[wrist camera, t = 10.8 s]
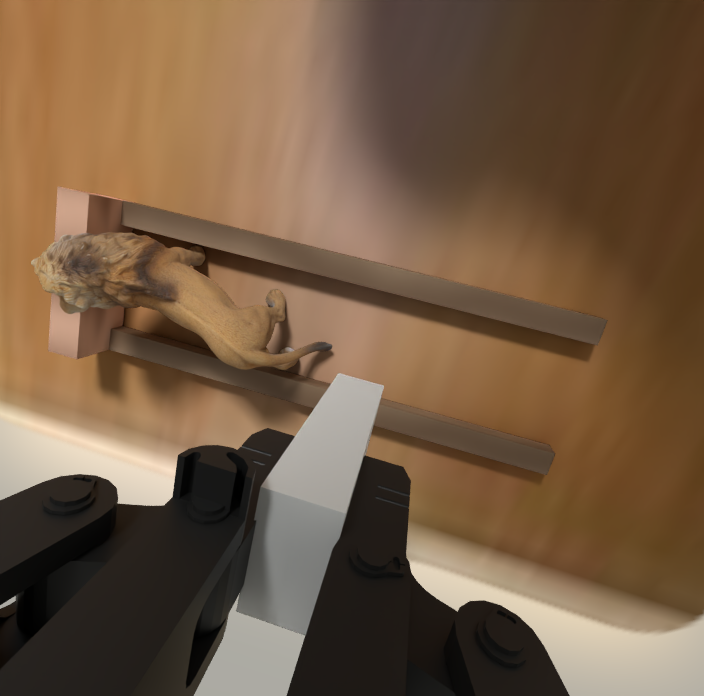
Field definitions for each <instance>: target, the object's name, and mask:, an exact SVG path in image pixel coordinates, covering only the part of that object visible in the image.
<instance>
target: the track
mask: <svg viewBox="0 0 704 696" xmlns="http://www.w3.org/2000/svg"><path fill="white" fill-rule="evenodd" d="M133 228H136V229H140V230H144V231H148V232H152V233H156V234H160V235H164V236H167V237H171V238H175V239H179V240H183V241H187V242H191V243H195V244H199V245H203V246H207V247H211V248H215V249H219V250H223V251H227V252H231V253H235V254H239V255H243V256H246V257H250V258H254V259H258V260H262V261H266V262H270V263H274V264H278V265H282V266H286V267H290V268H294V269H298V270H302V271H306V272H310V273H314V274H318V275H321V276H325V277H329V278H333V279H337V280H341V281H345V282H349V283H353V284H357V285H361V286H365V287H369V288H373V289H377V290H381V291H385V292H389V293H393V294H397V295H400V296H404V297H408V298H412V299H416V300H420V301H424V302H428V303H432V304H436V305H440V306H444V307H448V308H452V309H456V310H460V311H464V312H468V313H472V314H475V315H479V316H483V317H487V318H491V319H495V320H499V321H503V322H507V323H511V324H515V325H519V326H523V327H527V328H531V329H535V330H539V331H543V332H547V333H551V334H554V335H558V336H562V337H566V338H570V339H574V340H578V341H582V342H586V343H590V344H594V345H598V343H599V341H600V338H601V336H602V333H603V331H604V328H605V326H606V323H607V321H608V320H605V319H603V318H600V317H596V316H592V315H588V314H584V313H580V312H576V311H572V310H567V309H563V308H559V307H555V306H551V305H547V304H543V303H539V302H535V301H531V300H527V299H523V298H519V297H515V296H511V295H507V294H503V293H499V292H495V291H490V290H486V289H482V288H478V287H474V286H470V285H466V284H462V283H458V282H454V281H450V280H446V279H442V278H438V277H434V276H430V275H426V274H422V273H418V272H413V271H409V270H405V269H401V268H397V267H393V266H389V265H385V264H381V263H377V262H373V261H369V260H365V259H361V258H357V257H353V256H349V255H345V254H340V253H336V252H332V251H328V250H324V249H320V248H316V247H312V246H308V245H304V244H300V243H296V242H292V241H288V240H284V239H280V238H276V237H272V236H268V235H263V234H259V233H255V232H251V231H247V230H243V229H239V228H235V227H231V226H227V225H223V224H219V223H215V222H211V221H207V220H203V219H199V218H195V217H191V216H186V215H182V214H178V213H174V212H170V211H166V210H162V209H158V208H154V207H150V206H146V205H142V204H138V203H134V202H130V201H126V200H122V199H118V198H114V197H109V196H105V195H100V194H94V193H89V192H84V191H79V190H73V189H68V188H63V187H58V191H57V209H56V226H55V242H58V241H59V239H60V238H61V237H62V236H63V235H78V234H82V233H89V234H93V235H98V234H102V233H108V232H113V233H132V230H133ZM59 302H60V299H59V296H57V295H55V294H54V293H52V296H51V314H50V331H49V349H48V351H50V352H54V353H57V354H60V355H64V356H67V357H71V358H74V359H79V358H83V357H86V356H89V355H93V354H96V353H99V352H103V351H106V350H112V351H115V352H119V353H122V354H126V355H129V356H133V357H136V358H140V359H143V360H147V361H150V362H154V363H157V364H161V365H164V366H168V367H171V368H175V369H178V370H182V371H185V372H189V373H192V374H196V375H199V376H203V377H206V378H210V379H213V380H217V381H220V382H224V383H227V384H231V385H234V386H238V387H241V388H244V389H248V390H251V391H255V392H258V393H262V394H265V395H269V396H272V397H276V398H279V399H283V400H286V401H290V402H293V403H297V404H300V405H304V406H307V407H311V408H315V407H316V405H317V404H318V402H319V401H320V399H321V398H322V396H323V395H324V394H325V392H326V391H327V389H328V388H329V386H330V385H331V384H328V383H325V382H321V381H318V380H314V379H311V378H307V377H303V376H300V375H296V374H293V373H289V372H285V371H282V370H278V369H275V368H271V367H268V366H262V367H255V368H252V369H247V370H245V369H238V368H236V367H233V366H231V365H228V364H226V363H224V362H222V361H221V360H220V359H219V358H218V357H217V356H216V355H215V354H214V353H213V351H210V350H207V349H203V348H200V347H196V346H192V345H189V344H185V343H182V342H178V341H174V340H171V339H167V338H164V337H160V336H157V335H153V334H149V333H146V332H142V331H139V330H135V329H131V328H128V327H124V326H123V319H124V309H125V307H122V306H115V307H113V308H110V309H102V308H99V307H89V308H88V309H87V310H86V311H84V312H80V313H73V314H67V313H65V312H64V311H63V310H62V309H61V307H60V305H59ZM374 426H377V427H381V428H384V429H388V430H391V431H395V432H398V433H402V434H405V435H409V436H412V437H416V438H419V439H423V440H426V441H430V442H433V443H437V444H440V445H444V446H447V447H451V448H454V449H458V450H461V451H465V452H468V453H472V454H475V455H479V456H482V457H486V458H489V459H493V460H496V461H500V462H503V463H506V464H510V465H513V466H517V467H520V468H524V469H527V470H531V471H534V472H538V473H541V474H545V475H547V473H548V471H549V468H550V466H551V463H552V461H553V458H554V456H555V453H554V451H553V450H552V448H551V447H550V445H547V444H543V443H540V442H536V441H533V440H529V439H525V438H522V437H518V436H515V435H511V434H508V433H504V432H500V431H497V430H493V429H490V428H486V427H483V426H479V425H475V424H472V423H468V422H465V421H461V420H457V419H454V418H450V417H447V416H443V415H440V414H436V413H432V412H429V411H425V410H422V409H418V408H414V407H411V406H407V405H404V404H400V403H397V402H393V401H389V400H386V399H382V398H381V400H380V403H379V407H378V411H377V414H376V418H375V422H374Z"/></svg>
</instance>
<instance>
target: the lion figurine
mask: <svg viewBox="0 0 704 696" xmlns="http://www.w3.org/2000/svg"><path fill="white" fill-rule="evenodd" d="M204 260H205V252H204V250H203V248H202V247H200V246H198V245H196V246H192V247H191V248H189V249H188V250H186V249H184V248H180V247H172V248H166V247H165V246H164V245H163V244H161V243H159V242H158V241H157V240H154V239H152V238H150V237H149V236H147V235H142V236H138V235H136V234H134V233H113V232H108V233H102V234H98V235H93V234H89V233H82V234H78V235H63V236H62V237H61V238H60V239H59V241H58V242H54V243H52V244H51V245H49V247H48V248H47V249H46V250H45V251H44V252H43V253H42V255H41V256H40V257H38V258H35V259H34V260H32V262H31V264H32V265H33V266H34V267H35V274H36V275H38V276H39V280H40V283H41V285H42V288H43V289H44V290H45V291H47V292H49V293H54V294H55V295H57V296H59V299H60V302H59V305H60V307H61V309H62V310H63V311H64V312H65V313H67V314H73V313H80V312H84V311H86V310H87V309H88V308H89V307H99V308H102V309H110V308H113V307H115V306H122V307H125V308H136V307H140V306H142V307H146V308H150V309H153V310H158V311H159V312H161V313H162V314H164V315H165V316H166V317H168V318H169V319H170V320H172V321H174V322H175V323H177V324H179V325H181V326H182V327H184V328H186V329H189V330H191V331H193V332H195V333H196V334H198V335H199V336H201V337H202V338H203V339H204V341H205V342H206V343H207V344H208V346H209V347H210V349H211V350H212V351H213V353H214V354H215V355H216V356H217V357H218V358H219V359H220V360H221V361H222V362H224V363H226V364H228V365H231V366H233V367H236V368H238V369H245V370H247V369H252V368H255V367H262V366H273V367H276V368H278V369H280V370H286V369H288V368H290V367H292V366H294V365H295V364H296V363H297V361H298V359H299V358H300V357H302V356H305V355H307V354H309V353H312V352H315V351H328V350H331V349H332V345H331V344H328V343H326V342H316V343H313V344H310V345H307V346H305V347H303V348H300V349H298V350H294V349H292V348H289V347H286V348H284V349H282V350H281V351H280V354H271V353H269V351H268V349H267V348H266V346H267V344H268V343H269V341H270V339H271V337H272V334H273V330H274V327H275V324H276V323H277V322H283V321H284V320H285V297H284V295H283V293H282V292H281V291H279V290H271V291H270V292H269V293H268V295H267V297H266V302H267V303H268V305H270V306H271V307H267V306H261V305H254V306H252V307H248V308H243V309H240V308H238V307H237V306H236V305H235V304H234V302H233V301H232V300H231V298H230V297H229V296H228V295H227V293H226V292H225V291H224V290H223V289H222V288H221V287H220V286H219V285H218V284H216V283H215V282H214V281H212V280H211V279H210V278H208V277H206V276H205V275H203V274H201V273H199V272H198V271H196V270H194V269H192V268H191V267H190V265H192V266H193V265H195V266H199V265H202V264H203V262H204Z"/></svg>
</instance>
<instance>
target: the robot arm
mask: <svg viewBox="0 0 704 696" xmlns="http://www.w3.org/2000/svg"><path fill="white" fill-rule="evenodd" d="M383 388H384V386H383V385H380V384H376V383H372V382H369V381H365V380H362V379H358V378H354V377H351V376H347V375H344V374H340V373H338V375H337V376H336V378H335V379H334V380H333V382H332V383H331V385H330V386H329V388H328V389H327V391H326V392H325V394H324V395H323V396H322V398H321V399H320V401H319V402H318V404H317V405H316V407H315V408H314V410H313V411H312V413H311V414H310V415H309V417H308V418H307V420H306V421H305V423H304V424H303V426H302V427H301V429H300V430H299V431H298V433H297V434H296V436H292V435H289V434H286V433H282V432H279V431H276V430H272V429H269V428H267V429H264V430H262V431H259V432H257V433H255V434H252V435H251V436H250V437H249V438H248V439H247V440H246V441H245V443H244V444H243V445H242V447H240V448H239V449H238V450H236V449H234V448H230V447H225V446H219V445H206V446H199V447H195V448H191V449H188V450H186V451H185V452H183V453H181V454H179V455H178V460H177V468H176V475H175V483H174V491H173V497H172V498H171V499H170V500H169V501H168V502H167V503H166V504H165V505H164V506H142V505H129V504H117V502H118V495H117V488H116V487H115V486H114V485H113V484H112V483H111V482H110V481H109V480H106V479H103V478H101V477H98V476H93V475H82V474H78V475H69V476H61V477H58V478H54V479H51V480H48V481H45V482H42V483H40V484H37V485H35V486H33V487H30V488H28V489H26V490H24V491H21V492H19V493H17V494H14V495H12V496H10V497H7V498H5V499H3V500H0V605H1V604H3V603H4V602H6V601H8V600H9V599H11V598H12V597H14V596H16V601H15V602H13V603H12V604H10V605H8V606H6V607H4V608H1V609H0V696H194V694H195V692H196V690H197V688H198V686H199V684H200V682H201V680H202V678H203V676H204V674H205V672H206V670H207V668H208V666H209V664H210V662H211V661H212V658H213V657H214V655H215V653H216V651H217V649H218V647H219V645H220V643H221V641H222V639H223V636H224V632H225V629H226V625H227V619H228V614H229V612H230V610H231V608H232V606H233V604H234V602H235V601H236V599H237V597H238V595H239V593H240V595H239V600H238V606H237V610H236V611H237V612H239V613H243V614H245V615H248V616H251V617H254V618H257V619H259V620H262V621H266V622H268V623H271V624H274V625H277V626H279V627H282V628H285V629H288V630H291V631H294V632H296V633H299V634H303V635H305V639H304V642H303V645H302V648H301V651H300V655H299V658H298V661H297V664H296V667H295V671H294V674H293V677H292V680H291V683H290V687H289V690H288V693H287V696H569V694H568V692H567V690H566V688H565V686H564V684H563V682H562V680H561V678H560V676H559V675H558V672H557V671H556V669H555V667H554V665H553V663H552V661H551V659H550V657H549V655H548V653H547V651H546V649H545V647H544V645H543V644H542V643H541V641H540V640H539V638H538V637H537V635H536V634H535V632H534V631H533V630H532V629H531V628H530V627H529V626H528V625H527V624H526V623H525V622H524V621H523V620H522V619H521V618H520V617H518V616H517V615H516V614H514V613H512V612H511V611H509V610H507V609H506V608H504V607H502V606H501V605H497V604H494V603H491V602H487V601H470V602H468V603H466V604H465V605H463V606H461V607H460V608H459V610H458V612H457V611H455V610H454V609H452V608H451V607H449V606H448V605H446V604H444V603H443V602H441V601H439V600H438V599H436V598H435V597H434V596H432V595H431V594H430V593H428V592H427V591H426V590H425V589H424V588H423V587H422V586H421V585H420V584H419V583H418V582H417V581H416V579H415V578H414V576H413V575H412V573H411V570H410V564H409V561H408V560H407V558H406V545H407V530H408V515H409V509H408V508H409V500H410V497H409V496H410V485H411V480H410V479H409V477H408V475H407V473H406V471H405V469H404V468H403V467H401V466H398V465H395V464H391V463H388V462H385V461H381V460H378V459H375V458H371V457H368V456H365V455H366V452H367V448H368V444H369V441H370V437H371V433H372V429H373V426H374V422H375V418H376V414H377V411H378V407H379V403H380V400H381V396H382V392H383Z"/></svg>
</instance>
